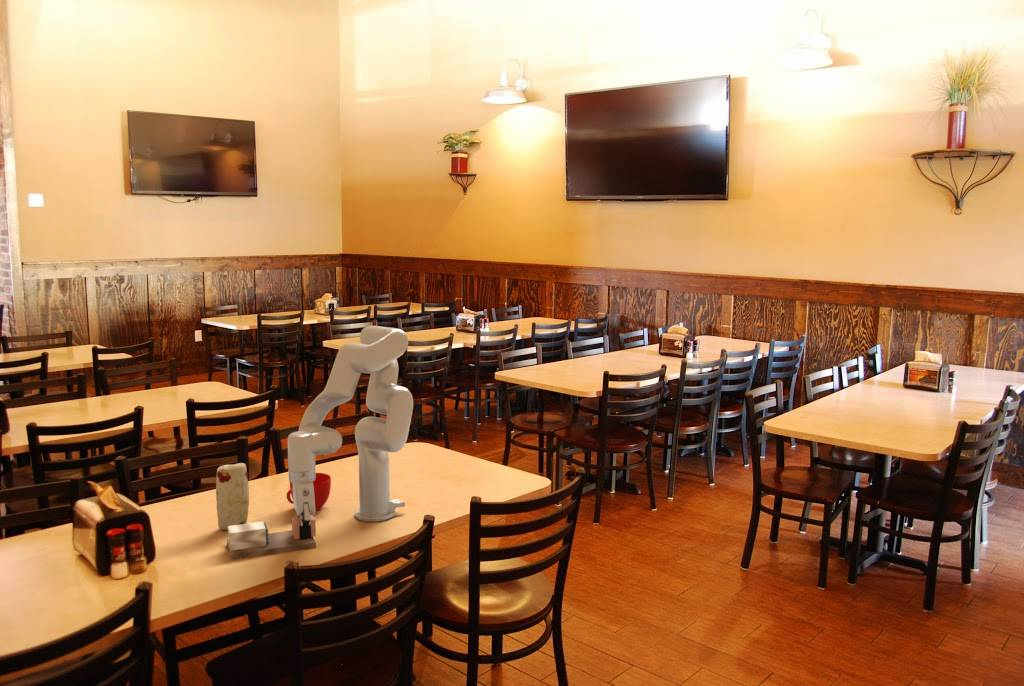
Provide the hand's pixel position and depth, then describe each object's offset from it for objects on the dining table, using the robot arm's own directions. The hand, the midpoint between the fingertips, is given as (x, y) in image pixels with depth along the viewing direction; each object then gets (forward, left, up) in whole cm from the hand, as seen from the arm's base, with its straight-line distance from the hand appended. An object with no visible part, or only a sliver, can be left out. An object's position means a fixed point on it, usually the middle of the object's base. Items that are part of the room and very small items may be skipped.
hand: (304, 535), depth 235 cm
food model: (+18, -19, -2) cm, 26 cm away
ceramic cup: (-5, -26, -2) cm, 27 cm away
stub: (0, 0, 0) cm, 0 cm away
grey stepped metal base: (+10, 0, -2) cm, 10 cm away
